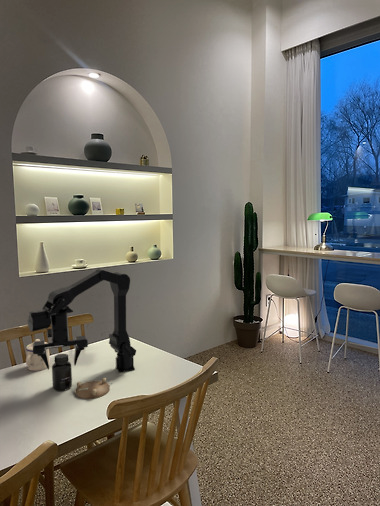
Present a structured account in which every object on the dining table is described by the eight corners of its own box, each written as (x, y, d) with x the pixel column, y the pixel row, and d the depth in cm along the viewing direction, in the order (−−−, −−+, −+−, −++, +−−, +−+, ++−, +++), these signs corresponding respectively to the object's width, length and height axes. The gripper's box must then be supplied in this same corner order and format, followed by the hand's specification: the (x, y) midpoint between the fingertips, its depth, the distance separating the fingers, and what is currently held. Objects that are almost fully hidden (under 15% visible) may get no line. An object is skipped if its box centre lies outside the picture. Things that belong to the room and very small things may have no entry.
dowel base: (106, 381, 149) (106, 374, 149) (112, 395, 138) (112, 388, 138) (74, 386, 145) (73, 379, 145) (77, 401, 134) (76, 394, 134)
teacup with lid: (36, 361, 169) (34, 335, 167) (55, 363, 166) (53, 336, 165) (17, 373, 157) (15, 345, 156) (37, 375, 155) (35, 346, 153)
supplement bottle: (66, 392, 141) (64, 360, 139) (49, 390, 142) (47, 358, 140) (75, 383, 147) (74, 353, 146) (59, 382, 149) (57, 351, 147)
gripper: (83, 317, 152) (85, 355, 154) (32, 322, 146) (34, 362, 148) (87, 325, 142) (88, 366, 144) (31, 331, 136) (34, 374, 137)
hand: (61, 367), depth 144 cm, fingers open, 9 cm apart
